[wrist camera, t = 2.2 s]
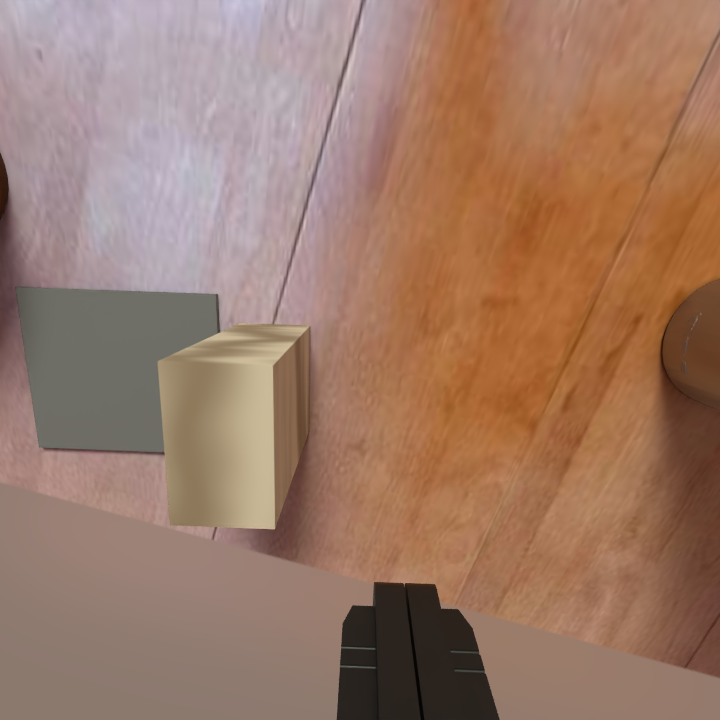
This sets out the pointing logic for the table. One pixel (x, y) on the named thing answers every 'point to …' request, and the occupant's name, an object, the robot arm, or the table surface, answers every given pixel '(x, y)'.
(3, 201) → the food container
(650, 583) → the table surface
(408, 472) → the table surface
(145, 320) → the mat
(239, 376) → the ash block
